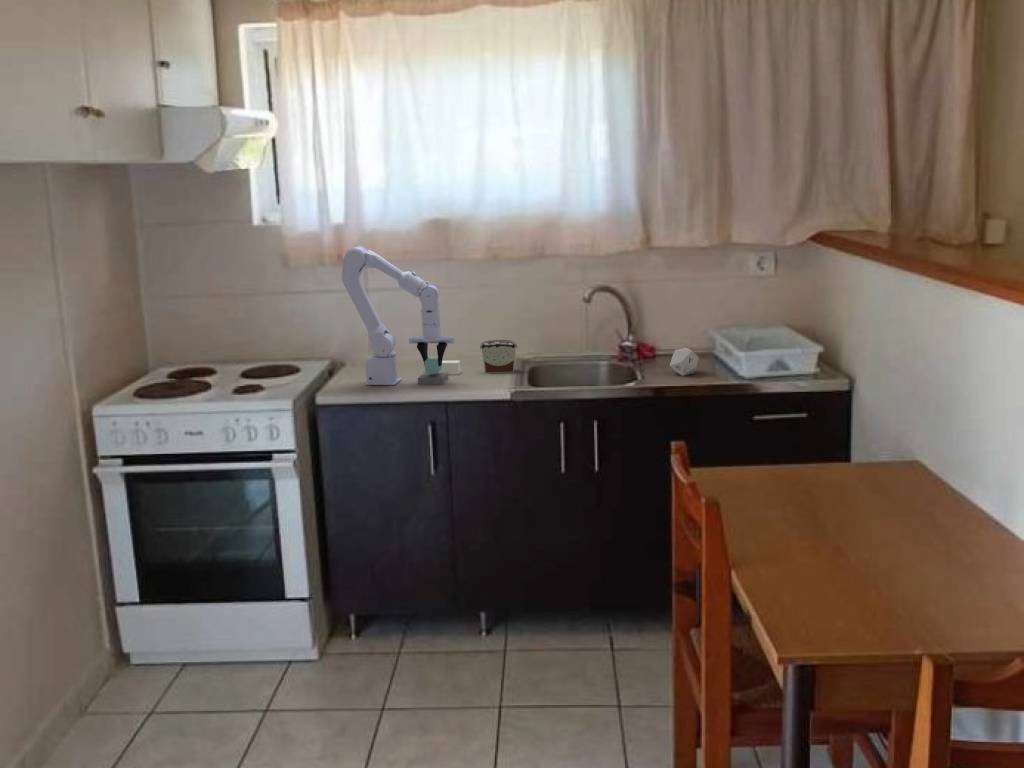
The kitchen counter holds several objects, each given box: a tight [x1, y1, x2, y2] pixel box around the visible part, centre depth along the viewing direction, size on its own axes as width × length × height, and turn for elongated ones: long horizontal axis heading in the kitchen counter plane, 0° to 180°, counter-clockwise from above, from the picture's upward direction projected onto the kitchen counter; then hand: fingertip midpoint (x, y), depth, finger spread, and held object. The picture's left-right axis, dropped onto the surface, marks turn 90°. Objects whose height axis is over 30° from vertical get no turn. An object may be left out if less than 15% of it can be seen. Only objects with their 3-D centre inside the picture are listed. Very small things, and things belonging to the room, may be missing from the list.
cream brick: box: [440, 359, 462, 376], centre depth 335 cm, size 6×4×4 cm, turn 82°
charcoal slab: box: [417, 371, 449, 385], centre depth 325 cm, size 8×8×2 cm
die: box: [669, 347, 700, 377], centre depth 323 cm, size 8×9×10 cm
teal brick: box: [424, 356, 442, 373], centre depth 324 cm, size 4×6×4 cm, turn 171°
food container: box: [479, 339, 518, 374], centre depth 336 cm, size 12×6×10 cm, turn 84°
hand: (433, 365), depth 324 cm, fingers closed on teal brick, 4 cm apart
